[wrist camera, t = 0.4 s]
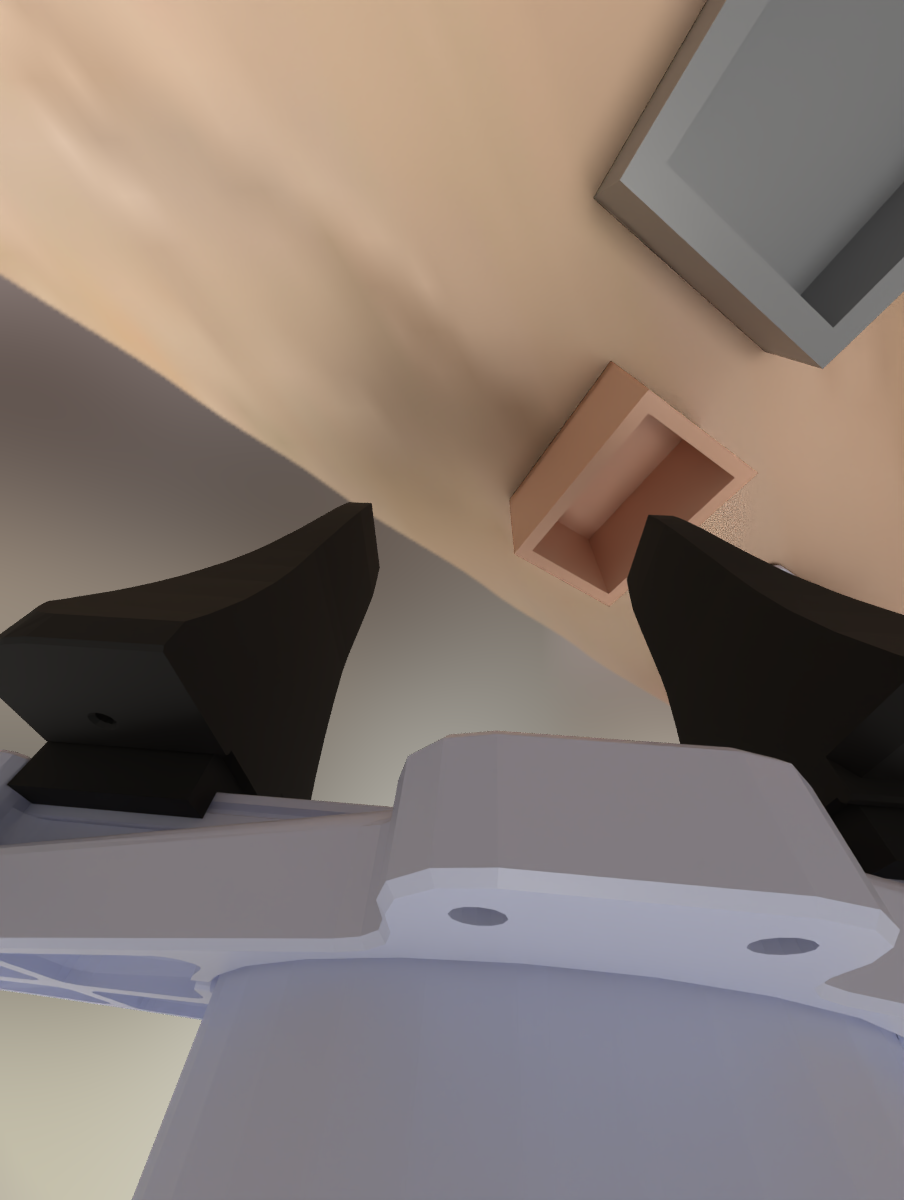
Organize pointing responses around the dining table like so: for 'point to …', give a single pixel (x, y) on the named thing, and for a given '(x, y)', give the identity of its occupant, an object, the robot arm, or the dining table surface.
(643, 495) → the small crate
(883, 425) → the dining table surface
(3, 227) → the dining table surface
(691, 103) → the large crate
